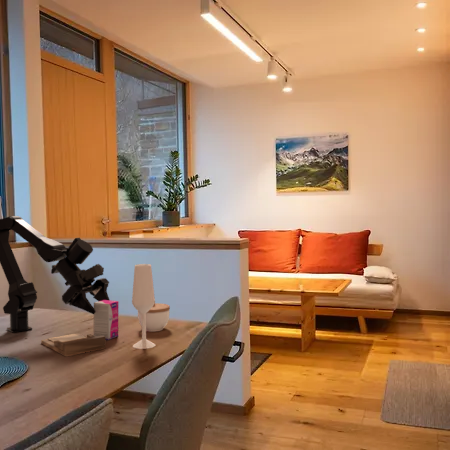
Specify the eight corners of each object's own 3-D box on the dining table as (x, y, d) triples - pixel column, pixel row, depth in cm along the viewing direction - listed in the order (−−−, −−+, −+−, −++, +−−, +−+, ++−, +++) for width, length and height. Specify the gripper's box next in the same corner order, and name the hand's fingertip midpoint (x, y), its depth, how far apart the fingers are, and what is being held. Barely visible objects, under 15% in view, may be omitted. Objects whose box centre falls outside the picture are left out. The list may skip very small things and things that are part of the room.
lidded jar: (131, 331, 172) (131, 303, 171) (148, 324, 182) (147, 297, 181) (160, 334, 168) (159, 305, 167) (175, 327, 178) (175, 299, 177)
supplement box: (109, 340, 161) (108, 303, 160) (92, 339, 163) (92, 302, 162) (119, 336, 166) (118, 300, 166) (103, 334, 168) (102, 299, 168)
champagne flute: (143, 341, 159) (142, 263, 158) (160, 344, 156) (159, 264, 155) (127, 346, 154) (126, 265, 153) (144, 350, 150) (143, 266, 149)
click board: (41, 343, 158) (41, 332, 158) (78, 336, 166) (78, 325, 166) (66, 356, 144) (65, 344, 144) (105, 348, 152) (105, 336, 152)
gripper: (68, 260, 157) (101, 298, 153) (103, 253, 174) (133, 288, 171) (48, 285, 160) (79, 323, 156) (84, 276, 177) (113, 310, 174)
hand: (103, 310), depth 164 cm, fingers open, 9 cm apart
